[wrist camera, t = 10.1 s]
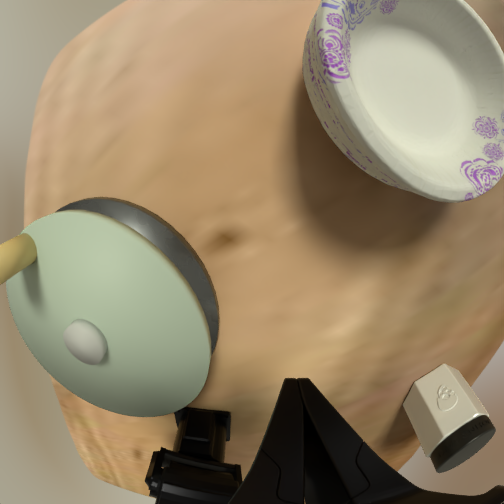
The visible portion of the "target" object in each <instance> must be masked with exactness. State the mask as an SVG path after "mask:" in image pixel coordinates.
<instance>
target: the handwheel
mask: <svg viewBox="0 0 504 504" xmlns="http://www.w3.org/2000/svg"><path fill="white" fill-rule="evenodd" d="M5 281H6V289H7V296H8V301H9V305H10V310H11V313H12V315H13V318H14V321H15V324H16V326H17V328H18V330H19V333H20V334H21V336H22V338H23V340H24V342H25V343H26V345H27V346H28V348H29V350H30V351H31V352H32V354H33V355H34V357H35V358H36V359H37V360H38V362H39V363H40V364H41V365H42V366H43V367H44V368H45V370H46V371H47V372H48V373H49V374H50V375H51V376H52V377H53V378H55V379H56V380H57V381H58V382H59V383H60V384H62V385H63V386H64V387H65V388H67V389H68V390H69V391H71V392H72V393H74V394H75V395H77V396H78V397H80V398H82V399H84V400H85V401H87V402H89V403H91V404H93V405H95V406H98V407H100V408H103V409H105V410H108V411H111V412H115V413H118V414H122V415H128V416H136V417H155V416H162V415H166V414H170V413H173V412H175V411H178V410H180V409H182V408H184V407H185V406H186V405H188V404H189V403H191V402H192V401H193V400H194V399H195V398H196V397H197V396H198V394H199V393H200V391H201V390H202V388H203V386H204V384H205V381H206V379H207V375H208V370H209V364H210V358H211V338H210V332H209V326H208V323H207V320H206V317H205V314H204V311H203V309H202V307H201V305H200V303H199V300H198V298H197V296H196V294H195V293H194V291H193V290H192V288H191V286H190V285H189V283H188V281H187V280H186V279H185V277H184V276H183V275H182V273H181V272H180V271H179V270H178V268H177V267H176V266H175V264H174V263H173V262H172V261H171V260H170V259H169V258H168V257H167V256H166V255H165V254H164V253H163V252H162V251H161V250H160V249H159V248H158V247H156V246H155V245H154V244H153V243H152V242H151V241H149V240H148V239H147V238H146V237H144V236H143V235H141V234H140V233H138V232H137V231H135V230H134V229H133V228H131V227H130V226H128V225H126V224H124V223H122V222H120V221H118V220H116V219H114V218H111V217H108V216H106V215H103V214H100V213H96V212H91V211H86V210H64V211H59V212H55V213H52V214H50V215H47V216H45V217H42V218H40V219H38V220H36V221H34V222H33V223H31V224H30V225H28V226H27V227H26V228H25V229H24V230H23V231H22V232H21V233H20V234H19V236H16V237H15V238H12V239H10V240H8V241H7V242H5V243H3V244H1V245H0V285H1V284H2V283H4V282H5Z"/></svg>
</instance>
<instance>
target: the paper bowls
mask: <svg viewBox="0 0 504 504" xmlns="http://www.w3.org/2000/svg"><path fill="white" fill-rule="evenodd" d="M302 69H303V77H304V83H305V86H306V89H307V92H308V95H309V98H310V101H311V104H312V107H313V109H314V111H315V113H316V115H317V117H318V119H319V120H320V122H321V124H322V126H323V128H324V129H325V131H326V132H327V134H328V135H329V137H330V138H331V139H332V141H333V142H334V143H335V144H336V146H337V147H338V148H339V149H340V150H341V151H342V152H343V153H344V155H346V156H347V157H348V158H349V160H351V161H352V162H353V163H354V164H355V165H356V166H358V167H359V168H360V169H362V170H363V171H365V172H366V173H367V174H369V175H370V176H372V177H374V178H376V179H378V180H380V181H382V182H383V183H385V184H387V185H390V186H394V187H397V188H399V189H402V190H406V191H411V192H413V193H416V194H418V195H421V196H424V197H426V198H428V199H432V200H435V201H441V202H450V203H455V202H457V203H459V202H463V201H467V200H471V199H474V198H477V197H479V196H480V195H483V194H484V193H485V192H487V191H489V190H490V189H491V188H493V187H494V185H495V184H496V183H497V182H498V181H499V180H500V178H501V177H502V176H503V174H504V54H503V52H502V50H501V48H500V46H499V44H498V42H497V40H496V39H495V37H494V36H493V34H492V33H491V31H490V30H489V28H488V27H487V25H486V24H485V23H484V21H483V20H482V19H481V18H480V17H479V15H478V14H477V13H476V12H475V11H474V10H473V9H472V8H471V7H470V6H469V5H468V4H467V3H466V2H465V1H464V0H322V1H321V3H320V5H319V7H318V10H317V11H316V13H315V15H314V17H313V19H312V21H311V24H310V26H309V29H308V32H307V36H306V40H305V44H304V52H303V68H302Z"/></svg>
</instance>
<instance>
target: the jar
mask: <svg viewBox="0 0 504 504" xmlns="http://www.w3.org/2000/svg"><path fill="white" fill-rule="evenodd" d="M403 407H404V409H405V411H406V413H407V415H408V417H409V420H410V422H411V424H412V426H413V428H414V430H415V433H416V435H417V437H418V439H419V442H420V444H421V446H422V448H423V450H424V453H425V455H426V457H430V458H431V460H432V462H433V464H434V467H435V469H436V472H438V473H442V472H445V471H448V470H450V469H452V468H454V467H456V466H458V465H460V464H461V463H463V462H464V461H466V460H467V459H469V458H470V457H471V456H473V455H474V454H475V453H477V452H478V451H479V450H480V449H481V448H482V447H484V446H485V445H486V443H488V441H489V440H490V439H491V438H492V437H493V435H494V433H495V431H496V429H495V427H494V426H493V424H492V422H491V421H490V419H489V414H488V412H487V411H486V409H485V408H484V406H483V405H482V403H481V402H480V401H479V399H478V397H477V396H476V394H475V393H474V392H473V390H472V389H471V387H470V386H469V384H468V383H467V382H466V380H465V379H464V378H463V376H462V375H461V373H460V372H459V371H458V370H457V369H455V368H453V367H451V366H449V365H447V364H445V363H443V364H442V365H440V366H439V367H437V368H436V369H434V370H433V371H431V372H430V373H428V374H426V375H425V376H423V377H422V378H420V379H418V380H416V381H415V382H414V384H413V386H412V388H411V390H410V392H409V394H408V396H407V397H406V399H405V401H404V403H403Z"/></svg>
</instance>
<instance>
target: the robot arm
mask: <svg viewBox="0 0 504 504" xmlns="http://www.w3.org/2000/svg"><path fill="white" fill-rule="evenodd" d="M174 414H175V419H176V423H177V427H178V430H177V435H176V439H175V443H174V448H173V451H170V450H167V449H166V448H163V447H161V450H160V451H154V452H153V455H152V459H151V462H150V466H149V469H148V472H147V475H146V478H145V482H146V484H147V485H148V487H149V489H148V490H150V494H149V496H151V497H155V498H156V502H155V504H304V497H305V503H306V504H501V503H502V502H503V501H504V486H501V485H497V486H495V487H494V488H492V489H491V490H489V491H488V492H486V493H484V494H481V495H476V496H466V495H455V494H446V493H439V492H433V491H427V490H424V489H421V488H419V487H417V486H415V485H414V484H412V483H411V482H409V481H408V480H407V479H406V478H404V477H403V476H402V475H400V474H399V473H398V472H397V471H395V470H394V469H393V468H392V467H390V466H389V465H388V464H387V463H386V462H385V461H383V460H382V459H381V458H380V457H379V456H378V455H377V454H376V453H375V452H374V451H373V450H372V449H371V448H370V447H369V446H368V445H367V444H366V443H365V442H363V439H362V438H361V437H360V436H359V435H358V434H357V433H356V432H355V431H354V430H353V428H352V427H351V426H350V425H349V424H348V423H347V422H346V421H345V419H344V418H343V417H342V416H341V415H340V414H339V413H338V412H337V410H336V409H335V408H334V407H333V406H332V405H331V404H330V402H329V401H328V400H327V399H326V398H325V397H324V396H323V394H322V393H321V392H320V391H319V390H318V389H317V387H316V386H315V385H314V384H313V383H312V382H311V380H310V379H308V378H297V379H296V378H285V379H284V382H283V385H282V388H281V391H280V394H279V397H278V399H277V402H276V405H275V408H274V411H273V414H272V416H271V419H270V422H269V424H268V427H267V430H266V432H265V435H264V438H263V440H262V443H261V445H260V448H259V450H258V453H257V455H256V458H255V460H254V462H253V464H252V466H251V469H250V470H249V472H248V474H247V476H246V477H245V479H244V481H243V482H242V474H241V466H240V465H238V464H235V465H233V464H227V463H224V457H225V445H226V441H230V422H231V414H230V412H226V411H215V410H205V409H197V408H189V407H184V408H182V409H180V410H178V411H175V412H174ZM161 467H163V468H161ZM502 504H504V502H503V503H502Z"/></svg>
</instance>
